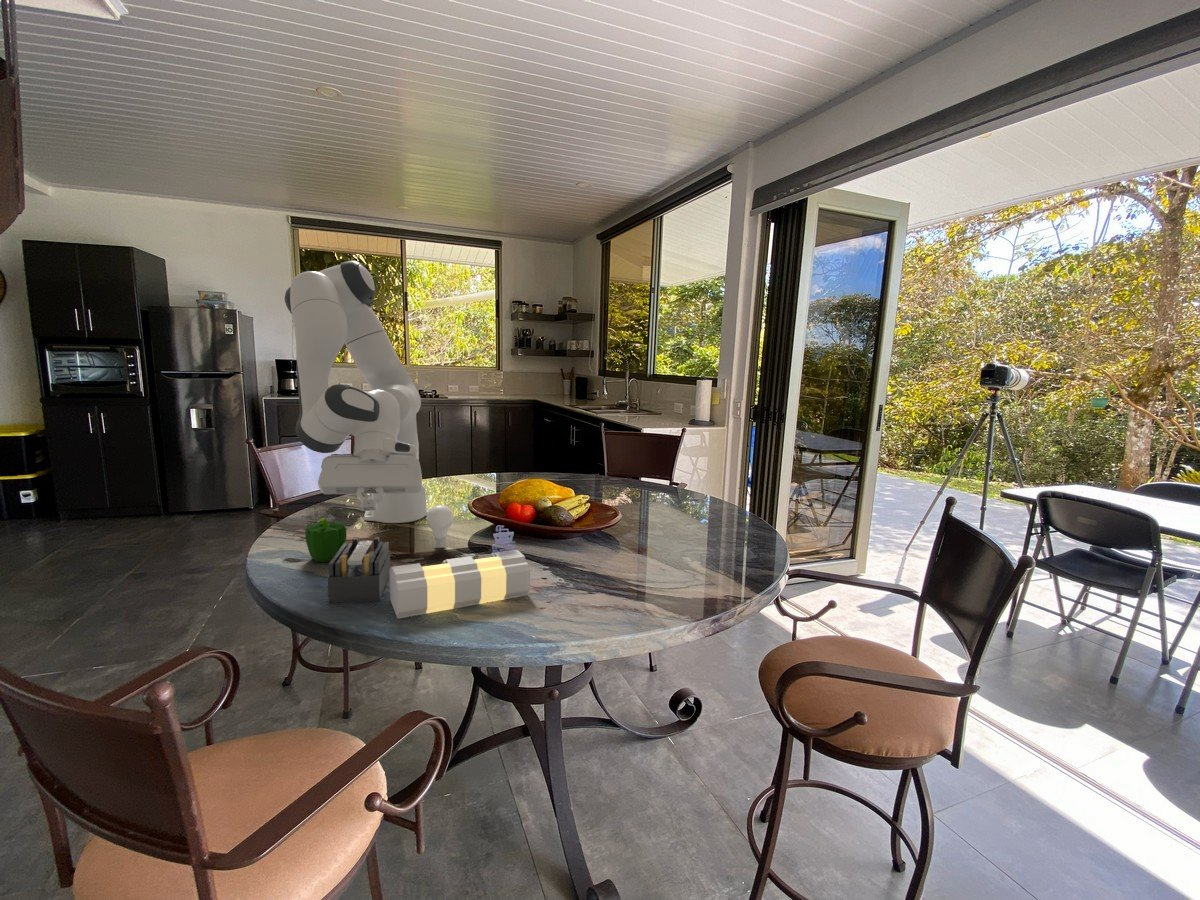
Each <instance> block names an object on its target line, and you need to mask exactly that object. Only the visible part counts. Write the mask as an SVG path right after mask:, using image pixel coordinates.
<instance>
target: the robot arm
mask: <svg viewBox="0 0 1200 900" xmlns="http://www.w3.org/2000/svg"><path fill="white" fill-rule="evenodd" d="M375 296H376V285H375V282H374V279H373V276H372V275H371V273H370V271H369V270H368V269H367V268H366V267H365V266H364V265H363V264H362V263H361V262H359V261H356V260H349V261H344V262H341V263H340V264H337V265H333V266H330V267H328V268H327V267H326V268H325V269H322V270H320V271H319V270H318V271H313V270H308V271H303V272H301V273H298V274H297V275H295V277H294V278H293V279H292V280H291V283H290V286H289V288H287V289H286V291H285V294H284V304H285V305H286V308H287V310H288V311H289V313H290V314H291V317H292V322H293V331H294V336H295V337H294V339H295V354H296V356H295V357H296V379H297V380H296V381H297V392H298V399H299V400H298V401H299V403H298V404H299V416H298V418H297V421H296V423H295V427H294V429H295V430H294V431H295V434H296V437H297V439H298V440H299V441H300V443H301V444H302V445H303V446H305V447H306V448H307V449H309V450H310V451H313V452H315V453H320V454H330V453H331V454H330V455H328V456H325V457H324V458H323V459H322V461H321V466H320V468H321V470H320V473H319V477H318V481H317V485H318V488H319V490H320V491H321V493H322V494H323V495H357V498H358V500H359V501H360V510H361V512H363V511H364V512H365V513H364V516H363V520H364V521H369V522H371V521H372V522H378V523H387V524H397V523H398V524H400V523H402V524H404V523H410V522H415V521H418V520H422V519H423V518H425V517H427V513H428V511H429V510H430V509H431V508H428V507H427V495H426V492H427V491H426V487H425V486H424V485H423V477H422V476H423V475H422V468H421V464H420V460H419V458H420V456H419V454H420V452H419V449H420V448H419V447H420V446H419V444H420V443H419V438H418V425H417V413H418V412H419V411H420V410H421V409H420V408H421V406H422V398H421V395H420V393H419V391H418V389H417V387H416V386H415V384H414V382H413V380H412V378H411V377H410V375H409V373H408V371H407V370H406V368H405V367H404V365H403V364H402V361H401V360H400V358H399V356H398V354H397V351H396V350H395V348H394V346H393V344H392V342H391V340H390V338H389V335H388V333H387V332H386V330H385V328H384V326H383V324H382V323H381V321H380V319H379V317H378V316H377V314H376V313H375V311H374V310H373V308H372V306H373V300H374V298H375ZM344 345H345V346H346V349H347V350H348V351H347V352H349V355H350V356H351V358H352V361H353V362H354V364H355V366H356V368H357V370H358V372H359V374H360V375H361V376H362V378H363V379H364V380H365V381H366V383H367V384H368V386H369V387H370V389H371V390H361V389H359V388H357V387H354V386H352V385H348V384H333V385H331V386H329V376H330V372H331V369H332V367H333V364H334V363H335V361H336V359H337V357H338V356H339V353H340V352H341V350H342V349H343V346H344ZM350 435H351V436H353V437H354V438H355V442H354V449H353V453H342V454H340V453H334V452H336V451H337V450H339V449H340V448H341V447H342V445H343V444H344V442H345V441H346V440H347V438H348V437H350ZM366 495H367V499H365V498H366Z"/></svg>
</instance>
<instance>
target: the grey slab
mask: <svg viewBox="0 0 1200 900" xmlns="http://www.w3.org/2000/svg"><path fill="white" fill-rule="evenodd" d="M373 546H374V539H372V540H359V543H358V545H357V547H356V548H355V550H354V551H353V553H352V554H351V556H350V558H349V559H348V561H347V563H348V565H360V564H362V563H363V561H364V556H365V554H368V553H370V550H371V548H372V547H373Z"/></svg>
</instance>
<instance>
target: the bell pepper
mask: <svg viewBox="0 0 1200 900" xmlns="http://www.w3.org/2000/svg"><path fill="white" fill-rule="evenodd" d="M304 532H305V542H306V546H307V549H308V552H309V556H310V557H311V558H312V559H313V560H315V561H316V562H318V563H326V562H328V563H330V562H331V560H332V559H333V557H334V556H335V555H336V553H337V552H338V551H339V549H340V548H341V547H342V545H343V544H344V543H347V528H346V526H345V524H342V523H340V522H339V521H333V522H330V523H328V521H327V518H325V517H322V518H320V519H319V521H316V522H315V523H313V524H312V525H308V526H306V528H305V531H304Z"/></svg>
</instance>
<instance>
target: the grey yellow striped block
mask: <svg viewBox="0 0 1200 900" xmlns="http://www.w3.org/2000/svg"><path fill="white" fill-rule="evenodd" d="M504 527H505V525H499V524H498V525H497V526H496V527H495V532H496V533H493V539H494V541H495V543H493V544H491V546H492V548H491V550H492V552H491V554H490V556H489V557H483V558H475V559H474V558H473V557H472V556H470V555H469V556H463V557H455V558H449V559H448V558H447V559H445V560H442V562H441V563H440V564H433V565H427V566H426V565H425V566H422V565H421V563H420V562H418V563H410V564H402V565H394V566H391V567H390V570H389V579H388V582H389V597H390V598H389V599H390V603H391V606H392V608H393V611H394V612H395V615H396V618H397V619H403V618H409V616H410V617H415V616H419V615H426V614H431V613H437V612H442V611H447V610H453V609H459V608H465V607H469V606H470V607H471V606H475V605H481V604H487V602H488V603H493V602H499V601H502V600H503V601H504V600H509V599H510V600H511V599H516V598H521V597H525V596H528V595H529V592H530V591H531V589H530V588H531V569H530V565H529V563H528V562H527V560H526V556H525V555H524V554H523V553H522V552H520V550H518V549H516V542H515V541H513V537H514V534H515V532H514V531H509V528H504ZM502 531H503V532H502ZM505 531H506V532H505ZM497 532H498V533H497ZM513 543H514V544H513ZM505 545H506V546H505ZM498 549H499V550H498ZM492 601H493V602H492Z"/></svg>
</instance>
